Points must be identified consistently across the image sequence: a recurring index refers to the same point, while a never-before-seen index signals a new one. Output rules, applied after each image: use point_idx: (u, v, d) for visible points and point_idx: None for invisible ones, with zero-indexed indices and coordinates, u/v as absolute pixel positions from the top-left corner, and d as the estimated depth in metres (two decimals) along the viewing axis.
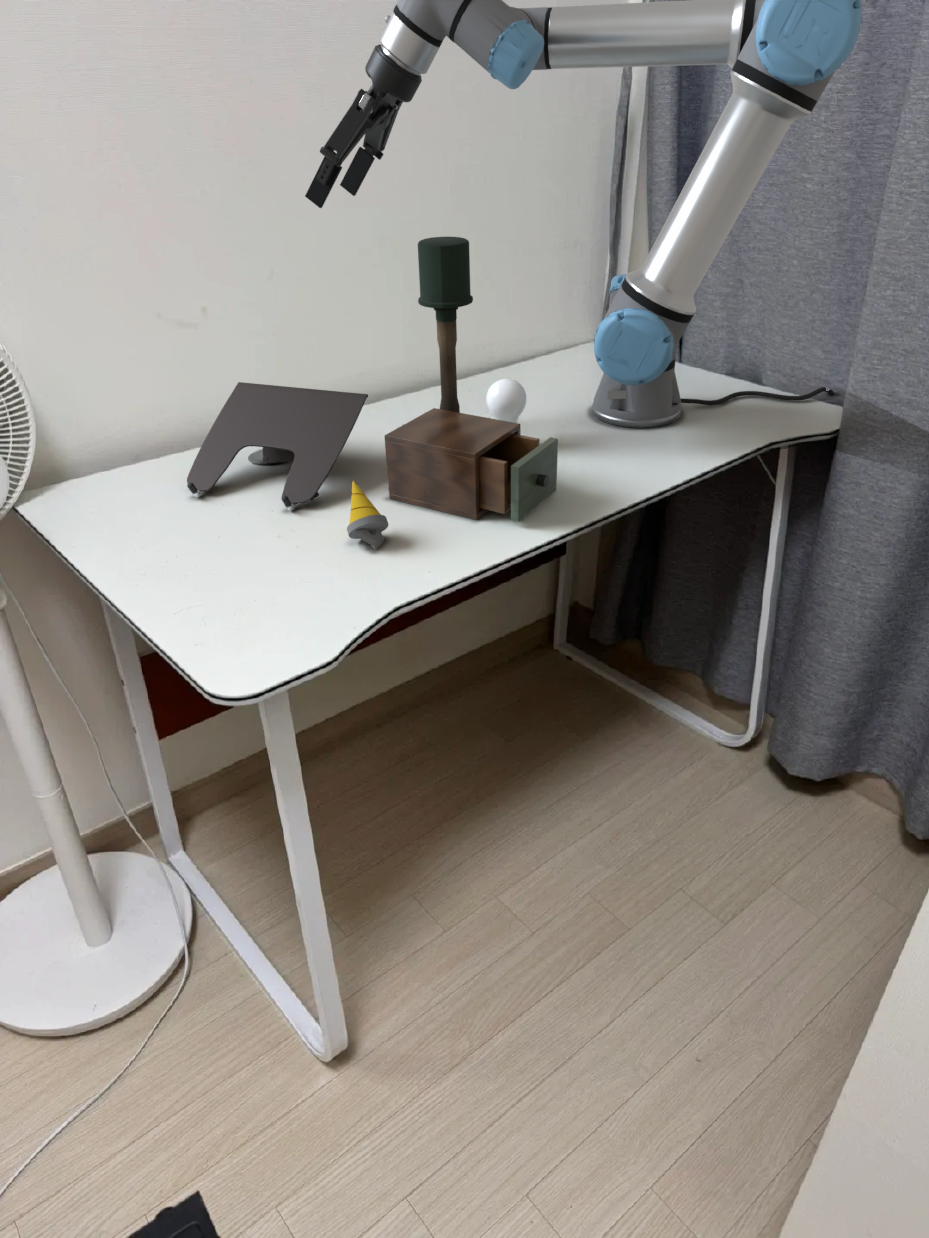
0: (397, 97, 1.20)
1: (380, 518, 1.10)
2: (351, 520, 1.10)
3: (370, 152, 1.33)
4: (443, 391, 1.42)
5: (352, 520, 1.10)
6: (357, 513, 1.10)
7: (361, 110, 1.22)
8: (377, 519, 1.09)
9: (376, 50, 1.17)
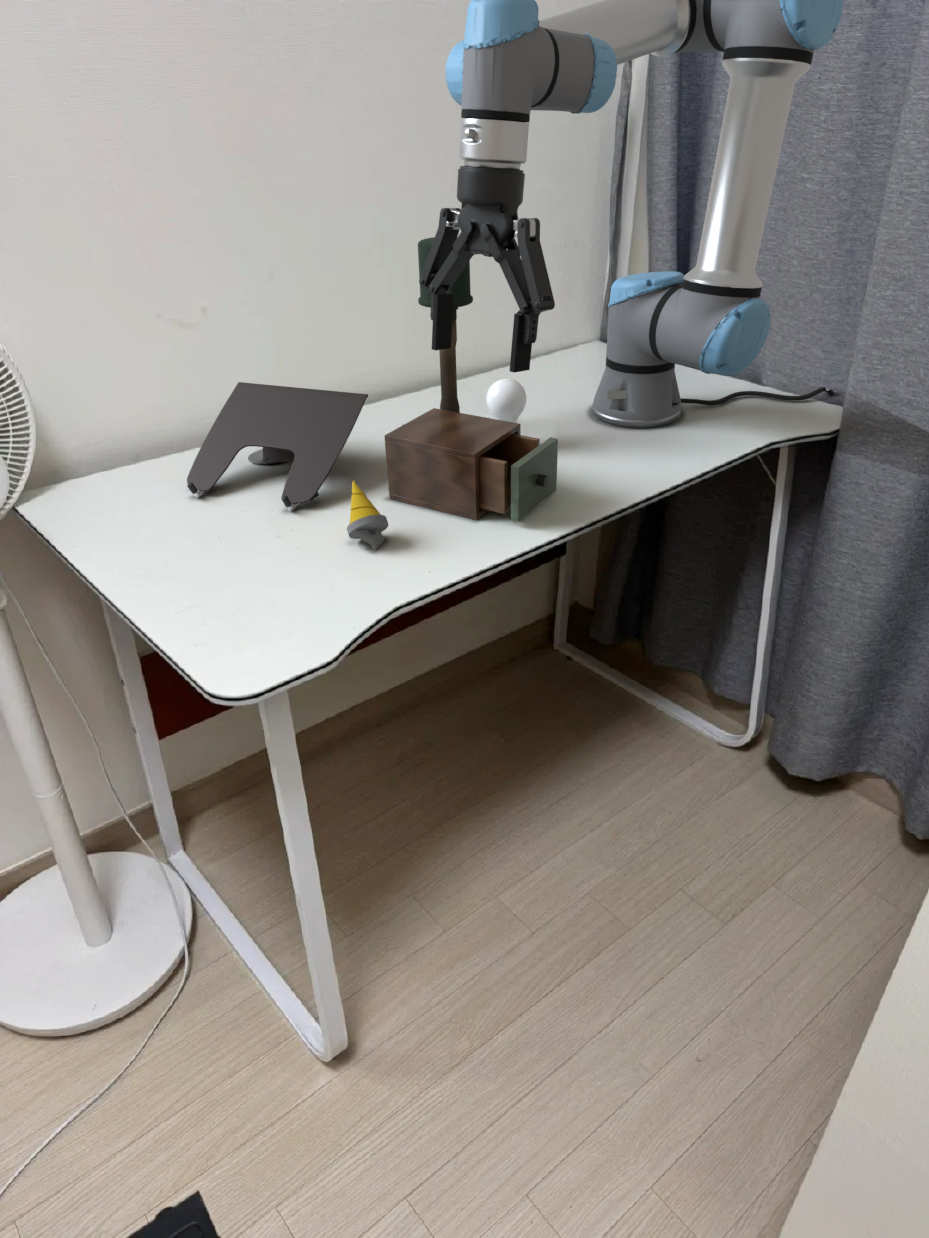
0: (521, 202, 0.98)
1: (380, 518, 1.10)
2: (351, 520, 1.10)
3: (443, 292, 1.07)
4: (443, 391, 1.42)
5: (352, 520, 1.10)
6: (357, 513, 1.10)
7: None
8: (377, 519, 1.09)
9: (489, 172, 0.93)
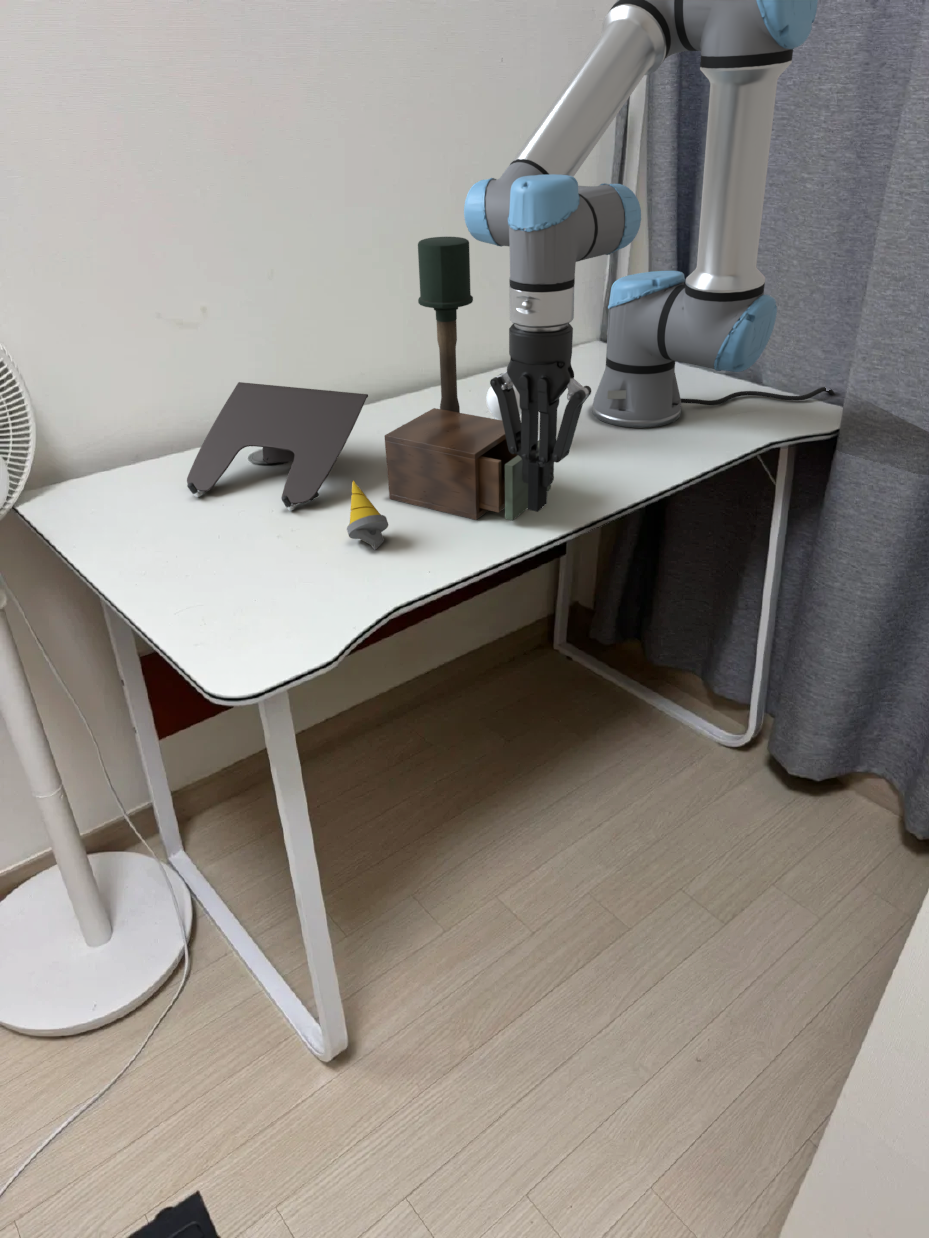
0: None
1: (380, 518, 1.10)
2: (351, 520, 1.10)
3: (535, 453, 1.10)
4: (443, 391, 1.42)
5: (352, 520, 1.10)
6: (357, 513, 1.10)
7: (556, 395, 1.03)
8: (376, 519, 1.09)
9: (548, 337, 0.98)
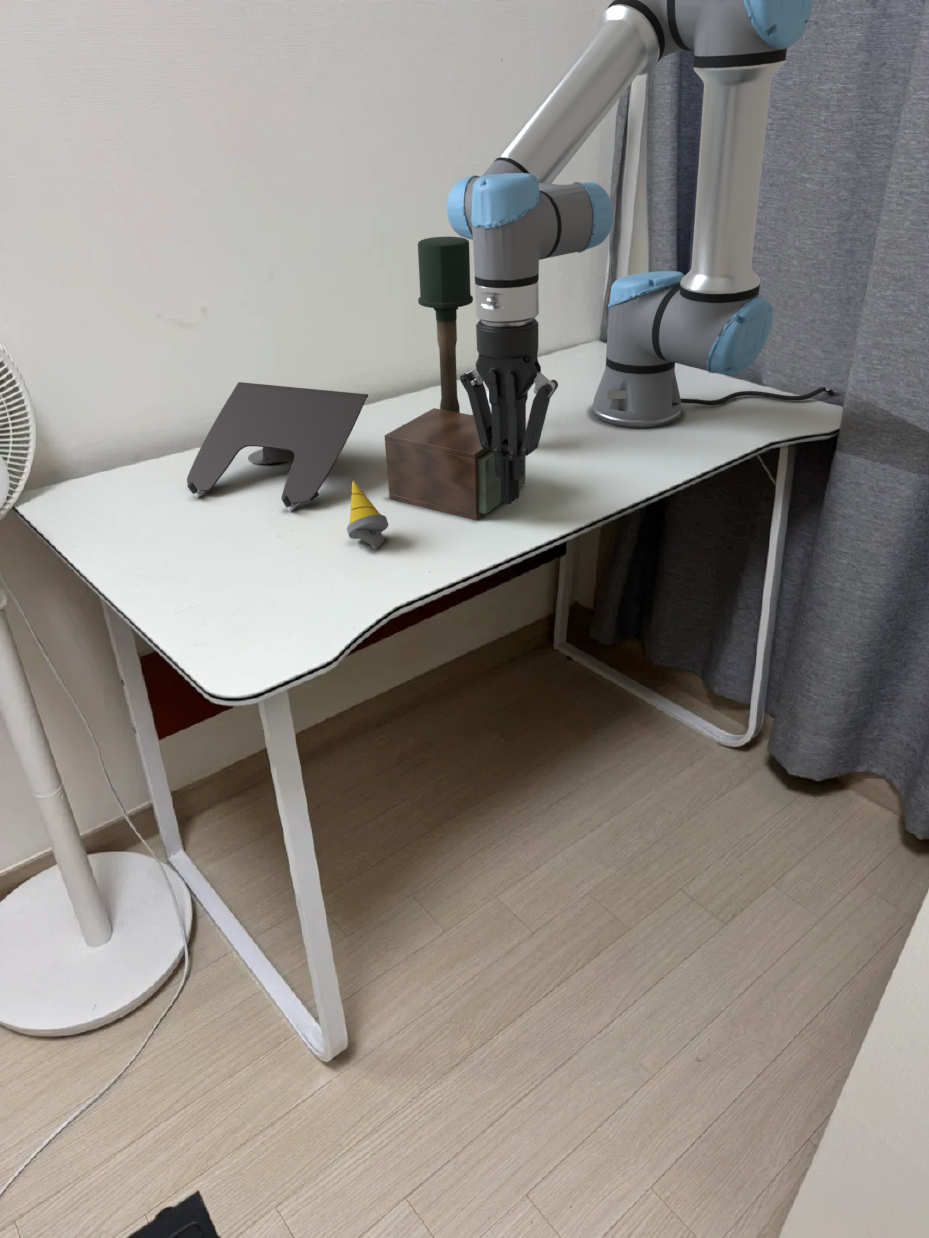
0: None
1: (380, 518, 1.10)
2: (351, 520, 1.10)
3: (507, 447, 1.12)
4: (443, 391, 1.42)
5: (352, 520, 1.10)
6: (357, 513, 1.10)
7: (524, 389, 1.05)
8: (376, 519, 1.09)
9: (513, 332, 1.00)
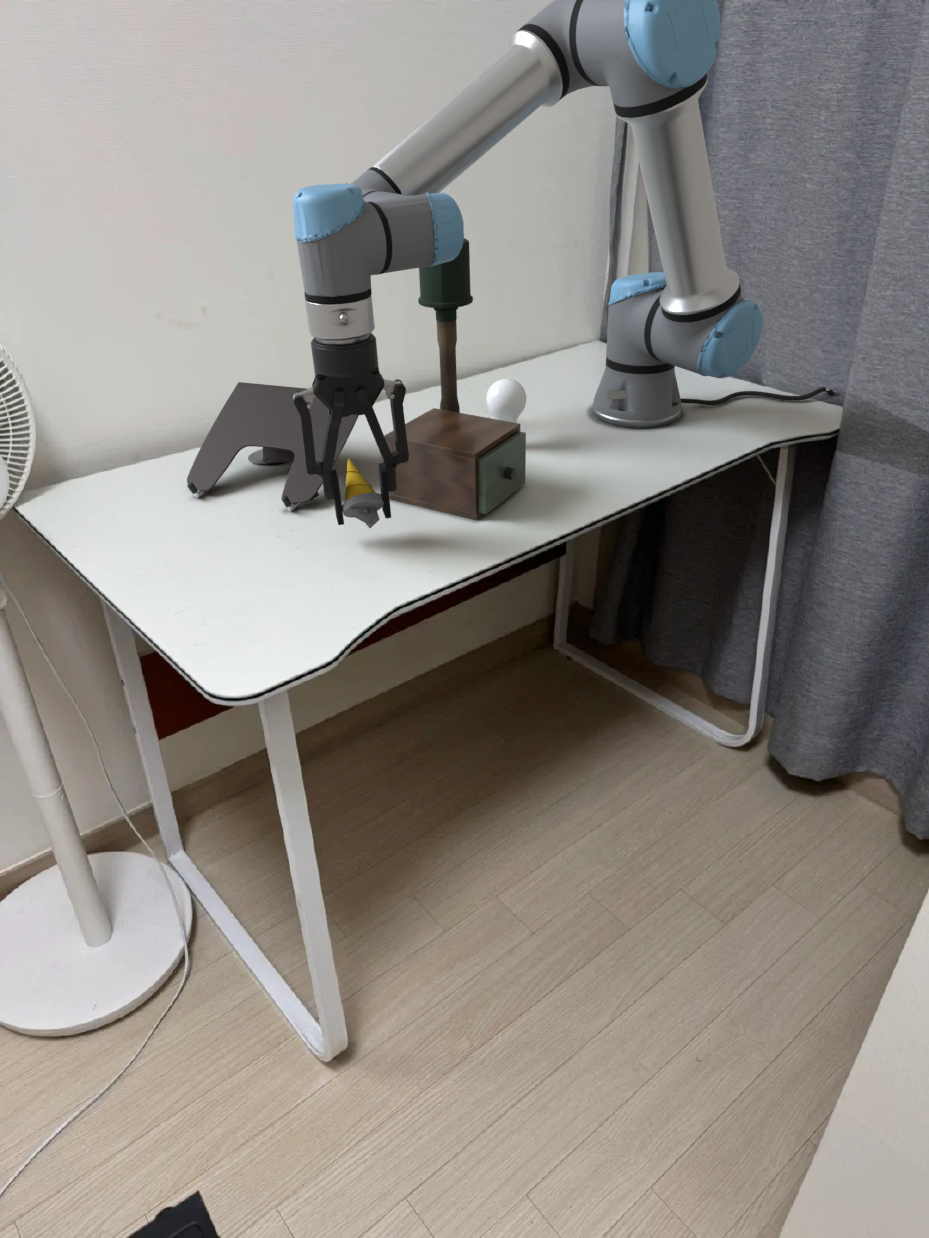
0: None
1: (375, 495, 1.08)
2: (346, 498, 1.09)
3: None
4: (443, 391, 1.42)
5: (347, 498, 1.09)
6: (351, 491, 1.08)
7: (374, 402, 1.03)
8: (371, 496, 1.08)
9: (367, 345, 0.97)
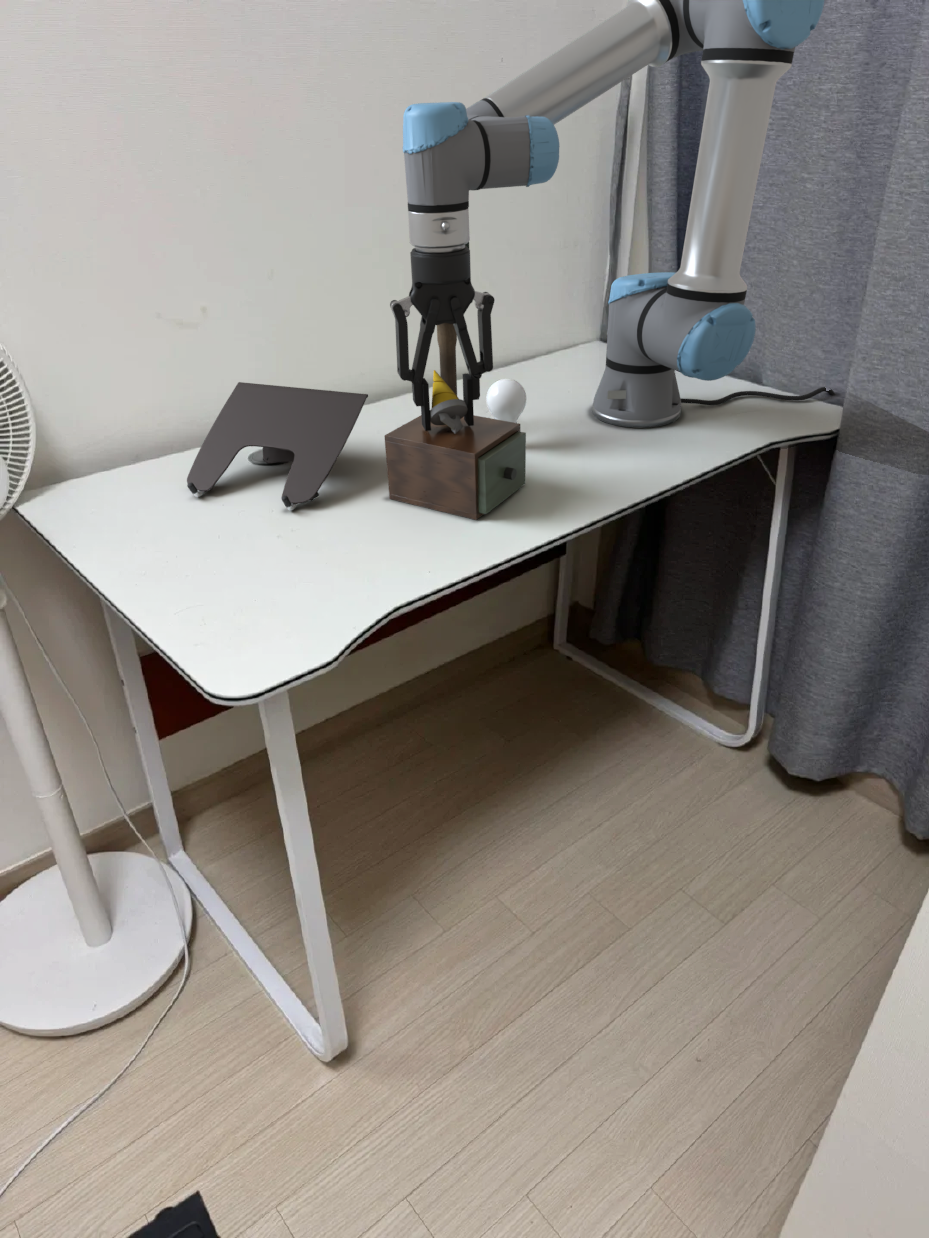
0: None
1: (461, 402, 1.17)
2: (433, 405, 1.17)
3: None
4: None
5: (434, 405, 1.17)
6: (439, 398, 1.17)
7: (465, 311, 1.11)
8: (458, 402, 1.16)
9: (463, 254, 1.06)
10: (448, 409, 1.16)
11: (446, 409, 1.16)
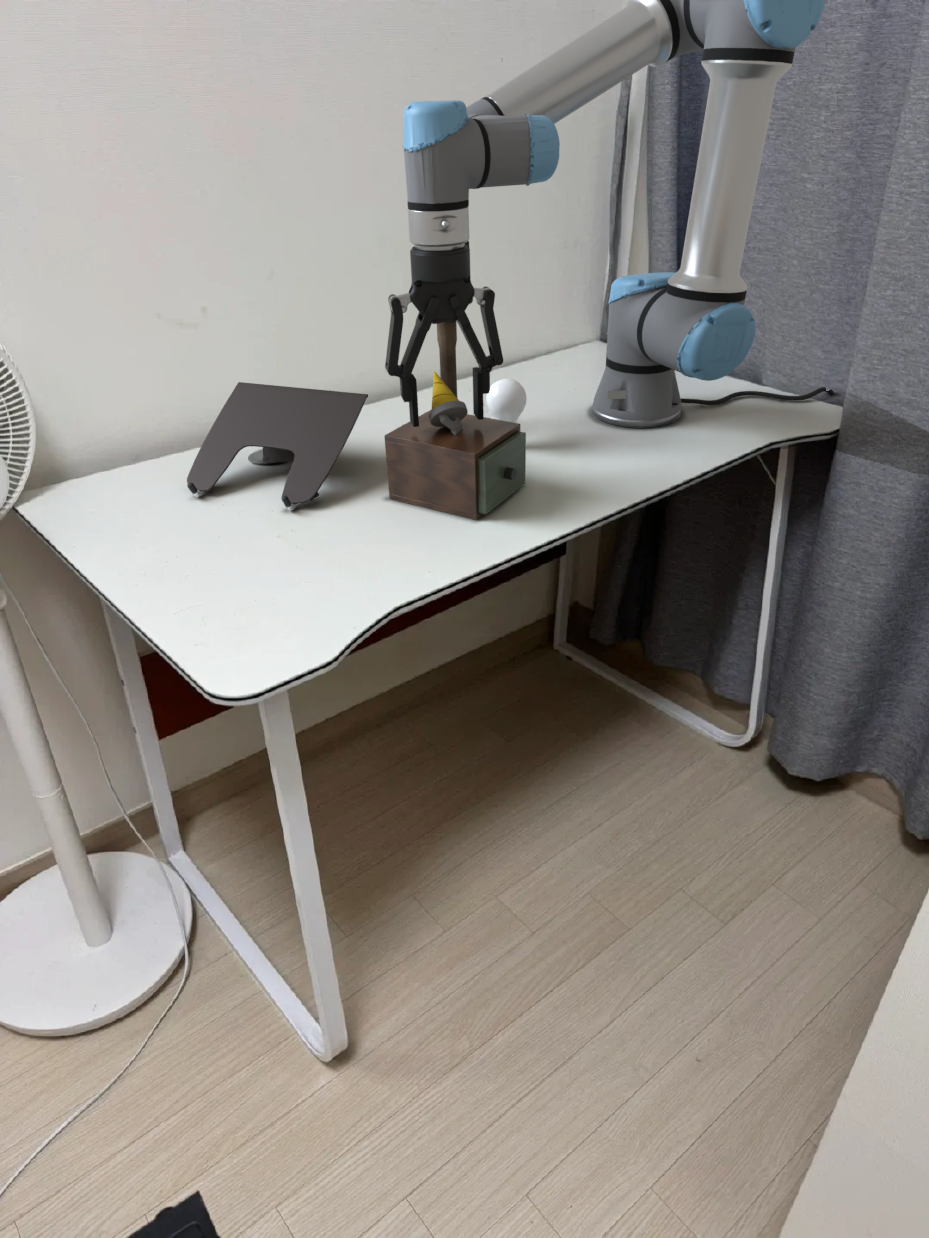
0: None
1: (461, 404, 1.17)
2: (433, 406, 1.17)
3: None
4: None
5: (434, 406, 1.17)
6: (439, 399, 1.17)
7: (464, 310, 1.11)
8: (458, 404, 1.16)
9: (463, 252, 1.06)
10: (448, 411, 1.16)
11: (446, 411, 1.16)
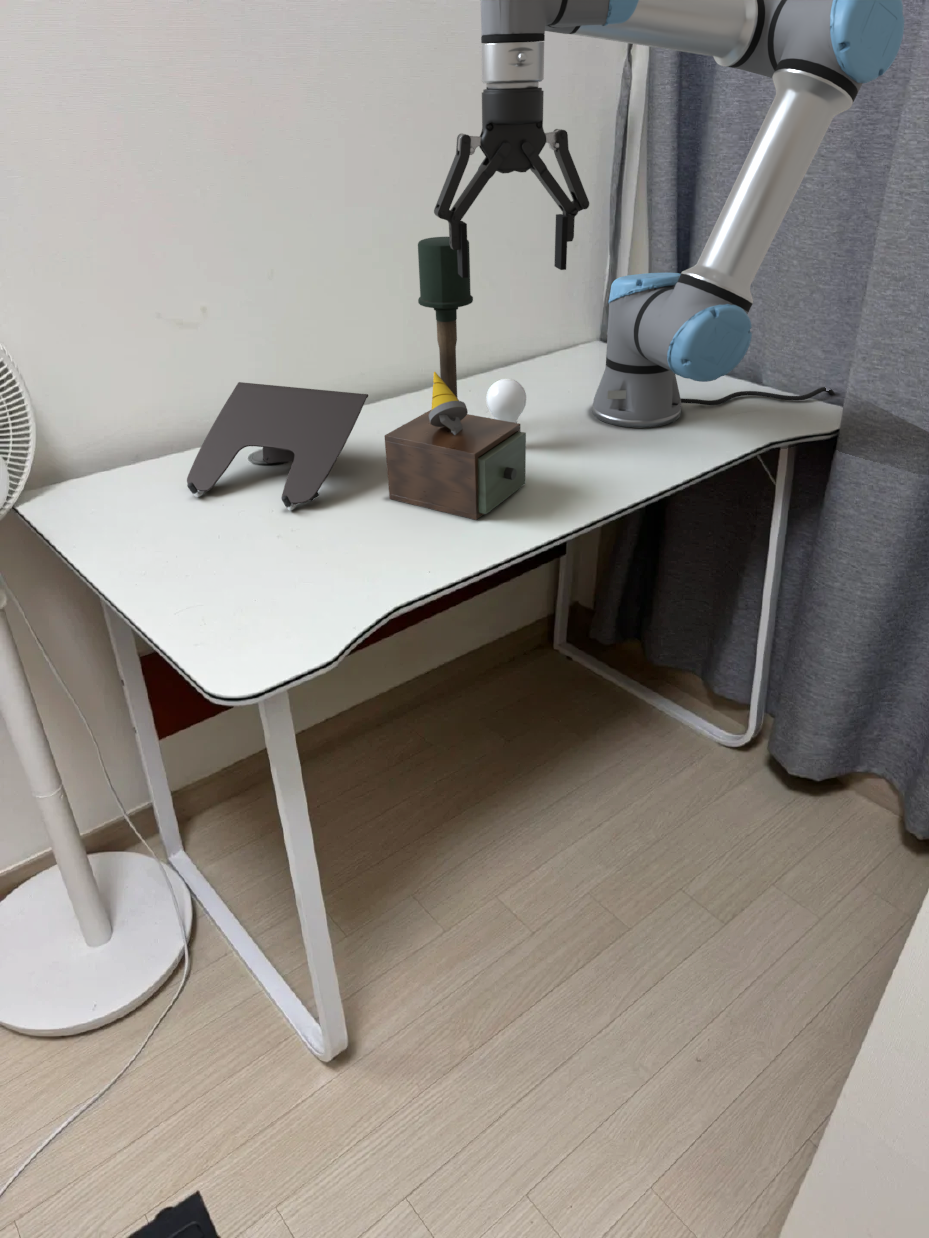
0: None
1: (461, 404, 1.17)
2: (433, 406, 1.17)
3: None
4: None
5: (434, 406, 1.17)
6: (439, 399, 1.17)
7: None
8: (458, 404, 1.16)
9: (538, 91, 1.02)
10: (448, 411, 1.16)
11: (446, 411, 1.16)
